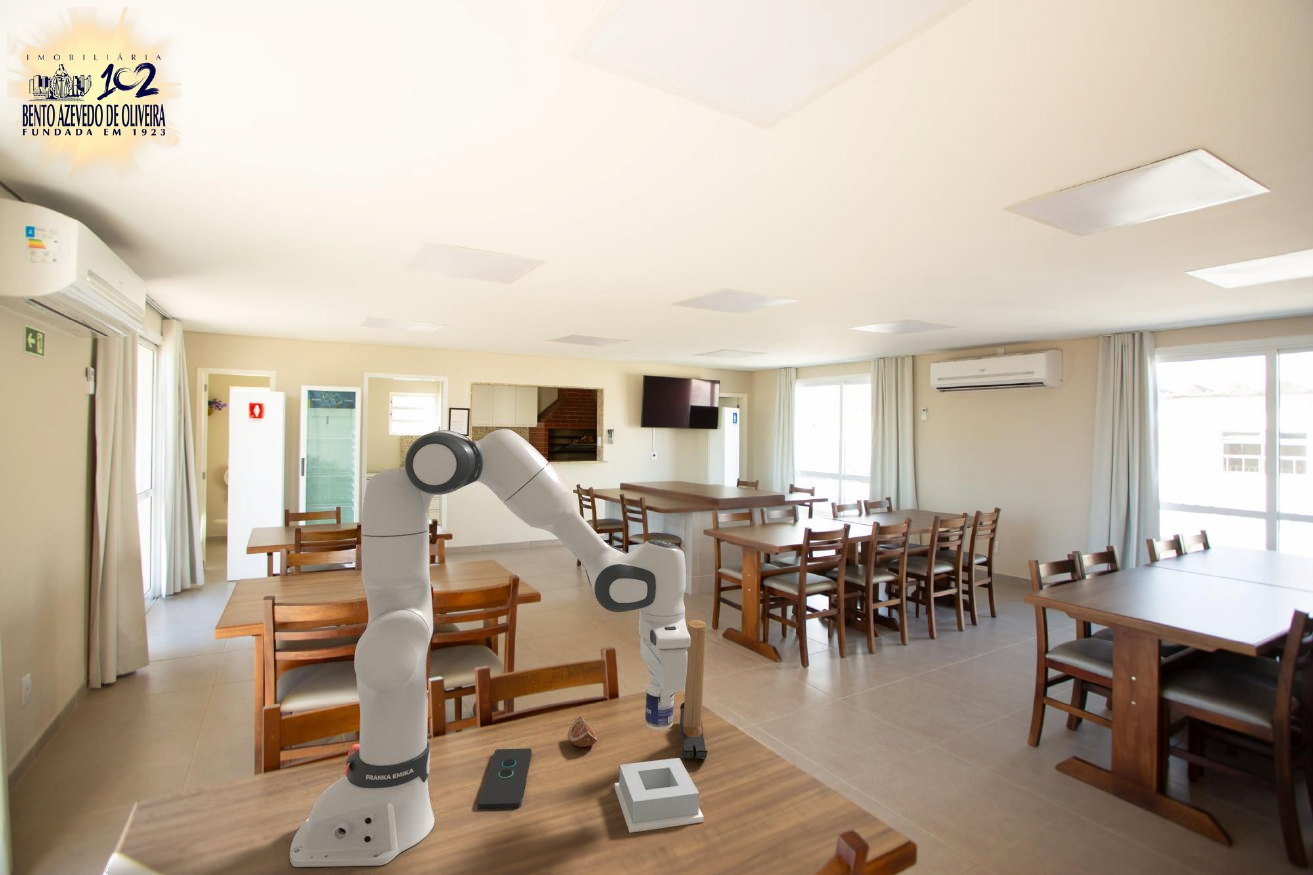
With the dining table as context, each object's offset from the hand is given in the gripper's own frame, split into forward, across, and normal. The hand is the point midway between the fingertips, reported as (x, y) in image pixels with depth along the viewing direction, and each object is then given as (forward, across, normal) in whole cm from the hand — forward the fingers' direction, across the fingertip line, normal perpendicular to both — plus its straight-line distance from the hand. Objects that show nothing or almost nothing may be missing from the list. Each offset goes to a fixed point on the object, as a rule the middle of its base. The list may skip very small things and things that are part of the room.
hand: (659, 696), depth 116 cm
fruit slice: (+21, -25, -11) cm, 34 cm away
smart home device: (+22, -15, -28) cm, 38 cm away
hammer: (+21, -21, +14) cm, 33 cm away
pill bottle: (+6, 0, 0) cm, 6 cm away
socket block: (+21, 0, 0) cm, 21 cm away
